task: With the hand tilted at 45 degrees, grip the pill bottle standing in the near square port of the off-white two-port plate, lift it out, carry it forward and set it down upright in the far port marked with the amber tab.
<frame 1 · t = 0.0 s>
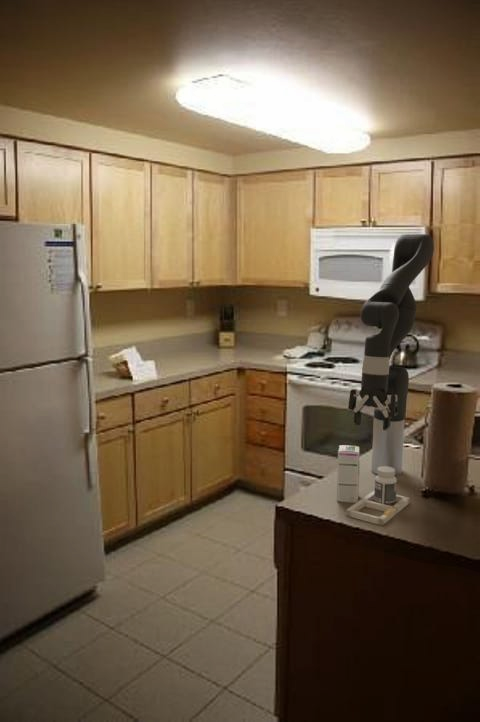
hand: (371, 427, 182), 17 cm above the countertop, tool pointing down, fingers open, 8 cm apart
syrup box: (347, 499, 174), on the countertop
port plate: (378, 509, 167), on the countertop
pill bottle: (384, 505, 170), resting in port plate
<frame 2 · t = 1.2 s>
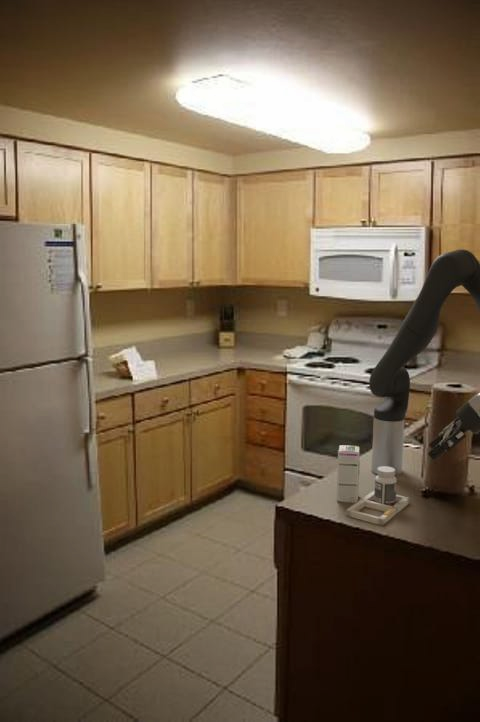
hand: (430, 451, 164), 16 cm above the countertop, tool tilted 45°, fingers open, 8 cm apart
nothing on the countertop moved.
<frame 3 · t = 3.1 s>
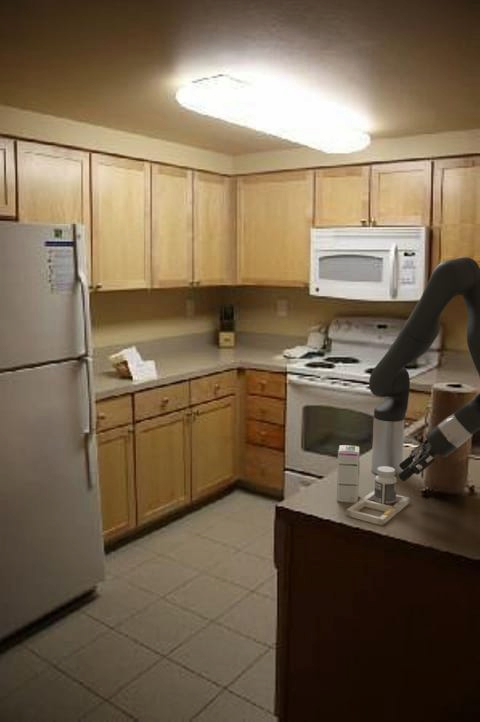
hand: (400, 473, 167), 9 cm above the countertop, tool tilted 45°, fingers open, 8 cm apart
nothing on the countertop moved.
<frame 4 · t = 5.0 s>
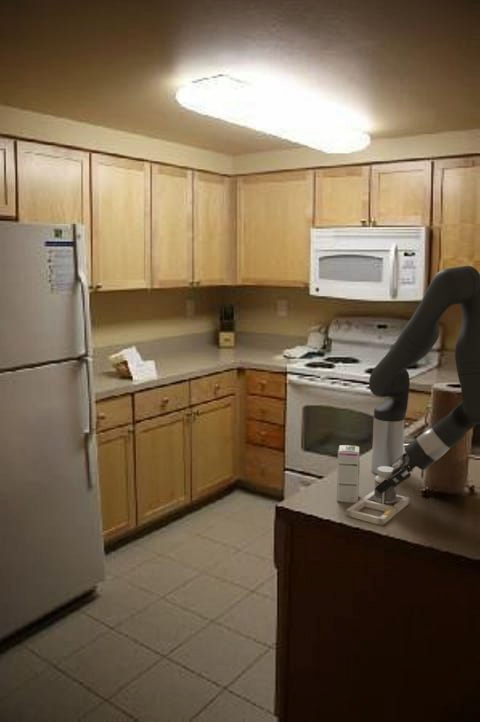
hand: (378, 486, 170), 5 cm above the countertop, tool tilted 45°, fingers closed on pill bottle, 5 cm apart
pill bottle: (384, 504, 170), resting in port plate, touching gripper
everything else where it was.
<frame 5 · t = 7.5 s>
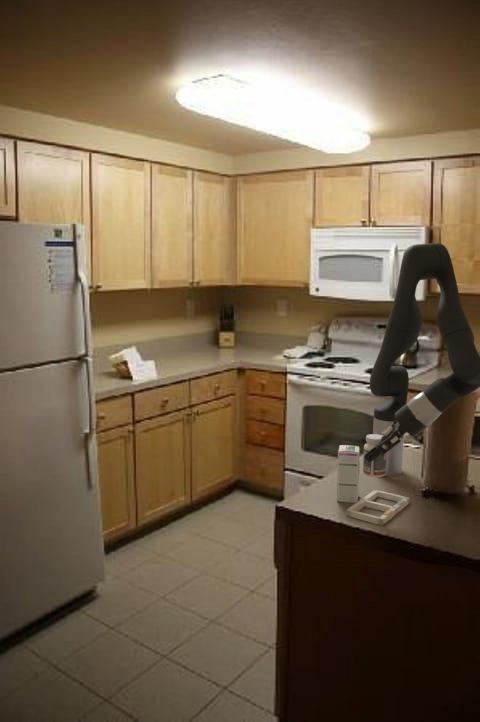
hand: (367, 455, 161), 16 cm above the countertop, tool tilted 45°, fingers closed on pill bottle, 5 cm apart
pill bottle: (374, 474, 161), point 11 cm above the countertop, touching gripper
everything else where it was.
when the fingers open (6 cm above the countertop, at t = 10.1 s): pill bottle drops 1 cm, resting in port plate.
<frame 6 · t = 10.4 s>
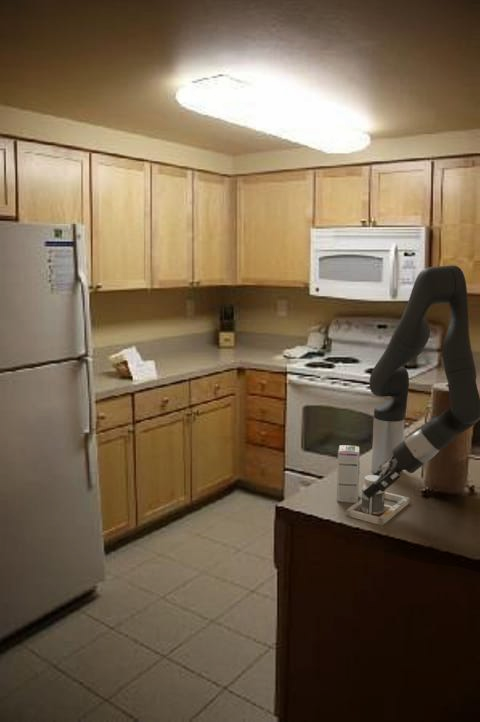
hand: (367, 489, 162), 7 cm above the countertop, tool tilted 45°, fingers open, 8 cm apart
pill bottle: (372, 515, 163), resting in port plate
everything else where it was.
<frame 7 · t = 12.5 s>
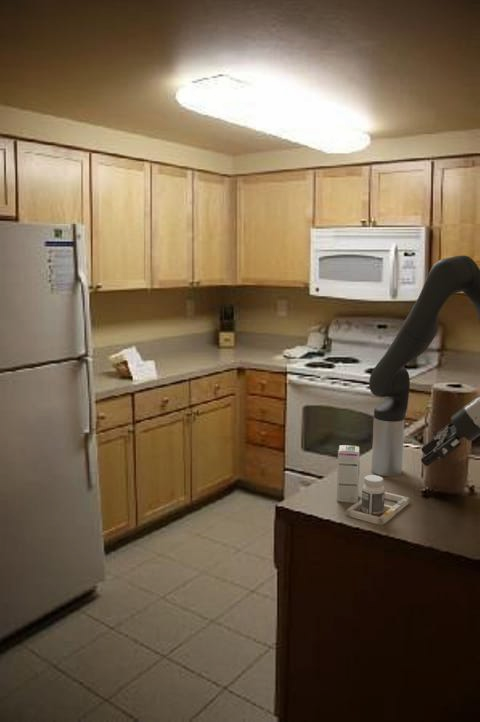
hand: (423, 457, 159), 16 cm above the countertop, tool tilted 45°, fingers open, 8 cm apart
nothing on the countertop moved.
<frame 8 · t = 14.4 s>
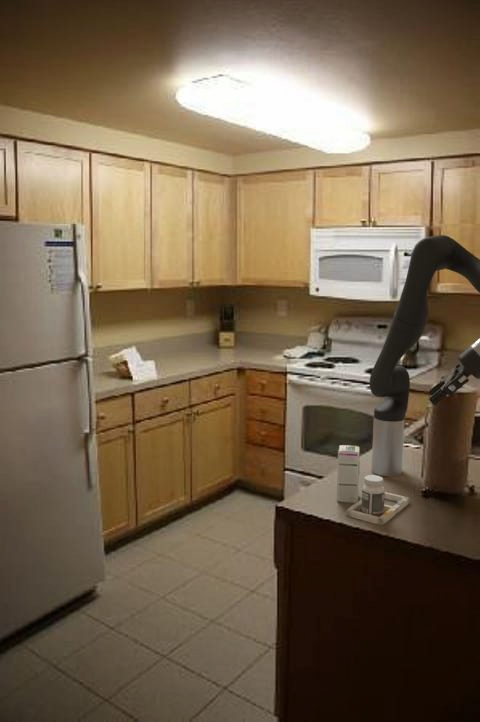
hand: (431, 398, 159), 31 cm above the countertop, tool tilted 45°, fingers open, 8 cm apart
nothing on the countertop moved.
at the end: pill bottle inside the target area (0.2 cm from its centre), resting in port plate; pill bottle tilted 0°; the gripper is holding nothing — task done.
